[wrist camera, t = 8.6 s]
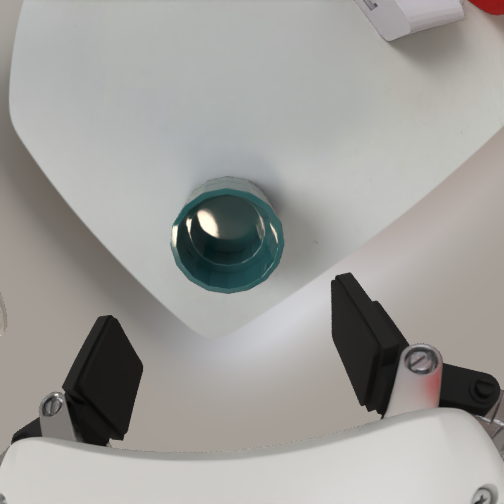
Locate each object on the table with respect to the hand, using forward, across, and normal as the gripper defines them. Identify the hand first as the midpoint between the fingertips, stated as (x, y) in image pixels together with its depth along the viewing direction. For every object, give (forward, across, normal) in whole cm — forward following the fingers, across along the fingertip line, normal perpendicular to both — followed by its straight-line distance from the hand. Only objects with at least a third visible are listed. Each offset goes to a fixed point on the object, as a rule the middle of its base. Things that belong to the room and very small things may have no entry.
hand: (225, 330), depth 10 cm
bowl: (+13, 0, 0) cm, 13 cm away
